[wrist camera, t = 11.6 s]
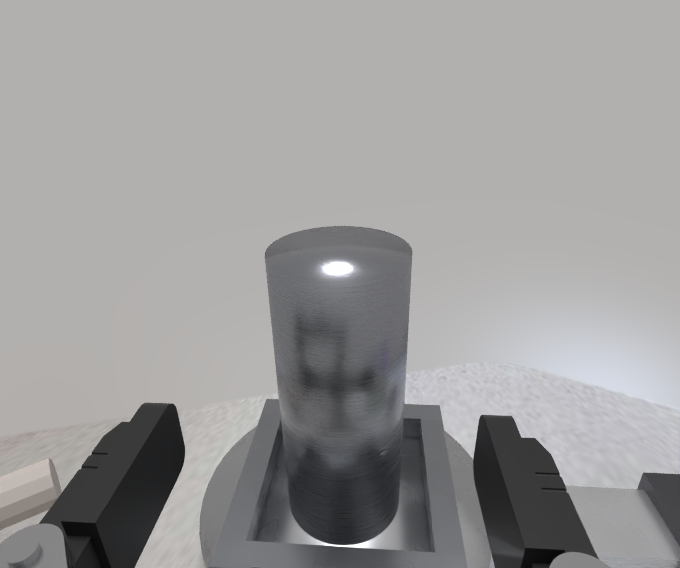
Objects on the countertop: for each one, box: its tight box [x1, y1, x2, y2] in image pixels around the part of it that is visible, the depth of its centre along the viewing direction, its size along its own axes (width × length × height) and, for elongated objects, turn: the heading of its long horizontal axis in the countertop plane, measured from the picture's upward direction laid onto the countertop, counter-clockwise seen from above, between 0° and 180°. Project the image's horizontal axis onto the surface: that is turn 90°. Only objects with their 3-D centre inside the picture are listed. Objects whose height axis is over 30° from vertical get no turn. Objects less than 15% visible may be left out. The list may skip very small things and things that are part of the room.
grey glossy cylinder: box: [265, 226, 412, 545], centre depth 17 cm, size 5×5×11 cm
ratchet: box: [200, 399, 680, 568], centre depth 19 cm, size 27×12×4 cm, turn 85°
